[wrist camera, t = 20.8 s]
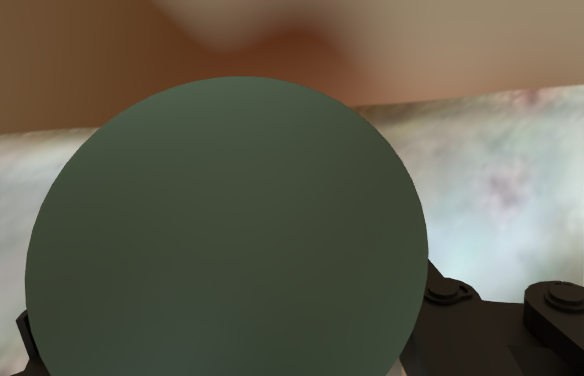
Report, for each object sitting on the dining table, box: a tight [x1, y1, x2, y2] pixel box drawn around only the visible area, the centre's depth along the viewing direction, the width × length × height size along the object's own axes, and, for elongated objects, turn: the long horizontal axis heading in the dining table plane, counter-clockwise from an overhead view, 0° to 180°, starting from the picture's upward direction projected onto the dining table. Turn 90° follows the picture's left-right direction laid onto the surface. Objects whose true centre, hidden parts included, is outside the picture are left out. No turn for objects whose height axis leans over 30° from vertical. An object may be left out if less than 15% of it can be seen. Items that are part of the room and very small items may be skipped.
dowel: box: [25, 76, 428, 376], centre depth 10 cm, size 4×4×14 cm
